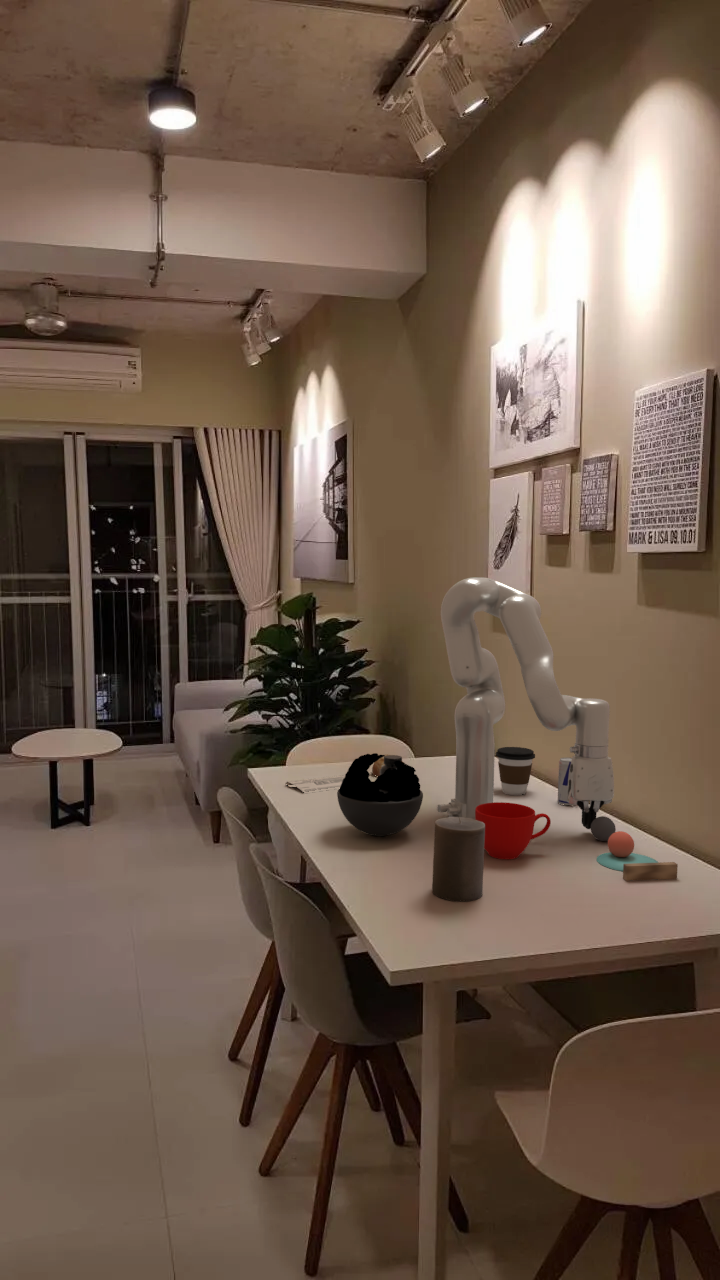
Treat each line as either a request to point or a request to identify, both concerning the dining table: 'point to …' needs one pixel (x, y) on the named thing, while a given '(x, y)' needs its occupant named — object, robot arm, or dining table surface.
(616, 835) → the object ball
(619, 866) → the disc
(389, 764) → the supplement bottle
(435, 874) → the pillar candle
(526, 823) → the ceramic cup
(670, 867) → the rail
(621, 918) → the dining table surface
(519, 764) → the coffee cup
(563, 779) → the energy drink
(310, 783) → the newspaper
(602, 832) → the gray ball
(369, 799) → the coal bowl
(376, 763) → the bread roll
